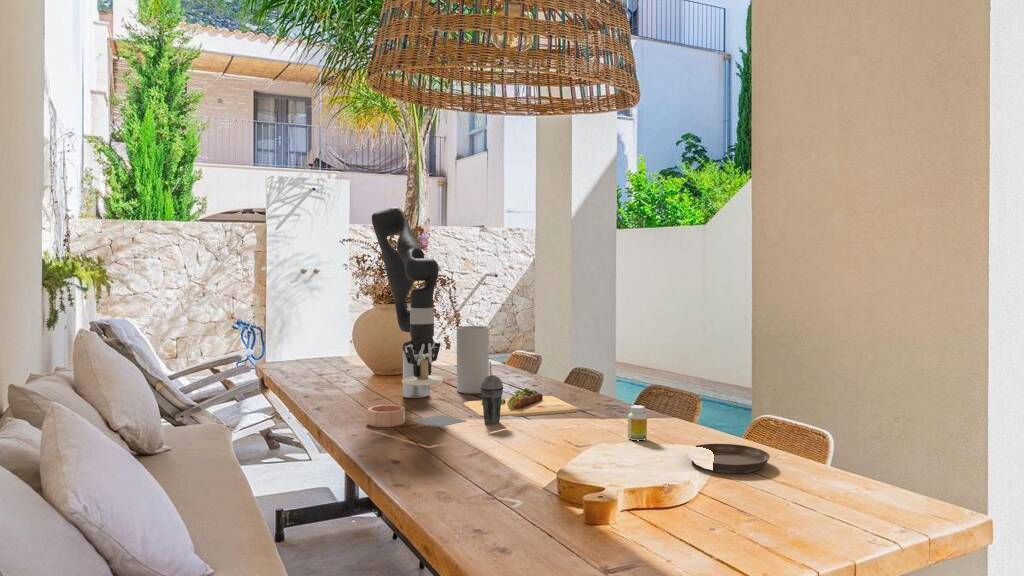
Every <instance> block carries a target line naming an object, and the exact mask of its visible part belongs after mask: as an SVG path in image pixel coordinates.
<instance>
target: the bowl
mask: <svg viewBox="0 0 1024 576" xmlns="http://www.w3.org/2000/svg"><path fill="white" fill-rule="evenodd" d="M366 414H367V415H366V423H367V425H368V426H372V427H376V428H378V427H379V428H385V427H386V428H387V427H389V428H390V427H391V428H392V427H397V426H401V425H404V424H405V422H406V406H403V405H398V404H380V405H373V406H369V407H368V408H367V411H366Z"/></svg>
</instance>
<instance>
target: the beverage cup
mask: <svg viewBox="0 0 1024 576" xmlns="http://www.w3.org/2000/svg"><path fill="white" fill-rule="evenodd" d="M480 389H481V393H480V394H481V400H483V412H484V417H483V420H484V424H485V425H489V426H490V425H492V426H493V425H498V424H500V421H501V416H500V410H501V399H503V398H502V397H503V393H504V392H503V391H504V385H503V382H502V379H500V377H498V376H497V375H494V374H493V373H492V361H489V376H487V377H485V378H484V380H483V381H482V383H481V388H480Z"/></svg>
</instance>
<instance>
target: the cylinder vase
mask: <svg viewBox="0 0 1024 576" xmlns="http://www.w3.org/2000/svg"><path fill="white" fill-rule="evenodd" d="M489 329H490V327H489V326H483V325H464V326H457V327H456V391H457V392H459V393H460V394H468V395H476V394H479V395H480V394H481V389H480V388H481V383H482V381H483V380H484V378H485V377H487V376H490V363H489V362H490V360H489V359H490V348H489V347H490V340H489V339H490V336H489V335H490V330H489Z"/></svg>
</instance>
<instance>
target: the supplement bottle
mask: <svg viewBox="0 0 1024 576" xmlns="http://www.w3.org/2000/svg"><path fill="white" fill-rule="evenodd" d="M645 411H646V410H645V406H644V405H639V404H638V405H637V404H635V405H630V412H629V414H628V415H627V417H628V418H627V438H629V439H631V440H630V441H632V440H644V439H646V440H647V436H648V435H647V431H648V430H647V429H648V428H647V427H648V424H647V423H648V421H647V420H648V416H647V414H646V413H645ZM629 439H628V440H629Z"/></svg>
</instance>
